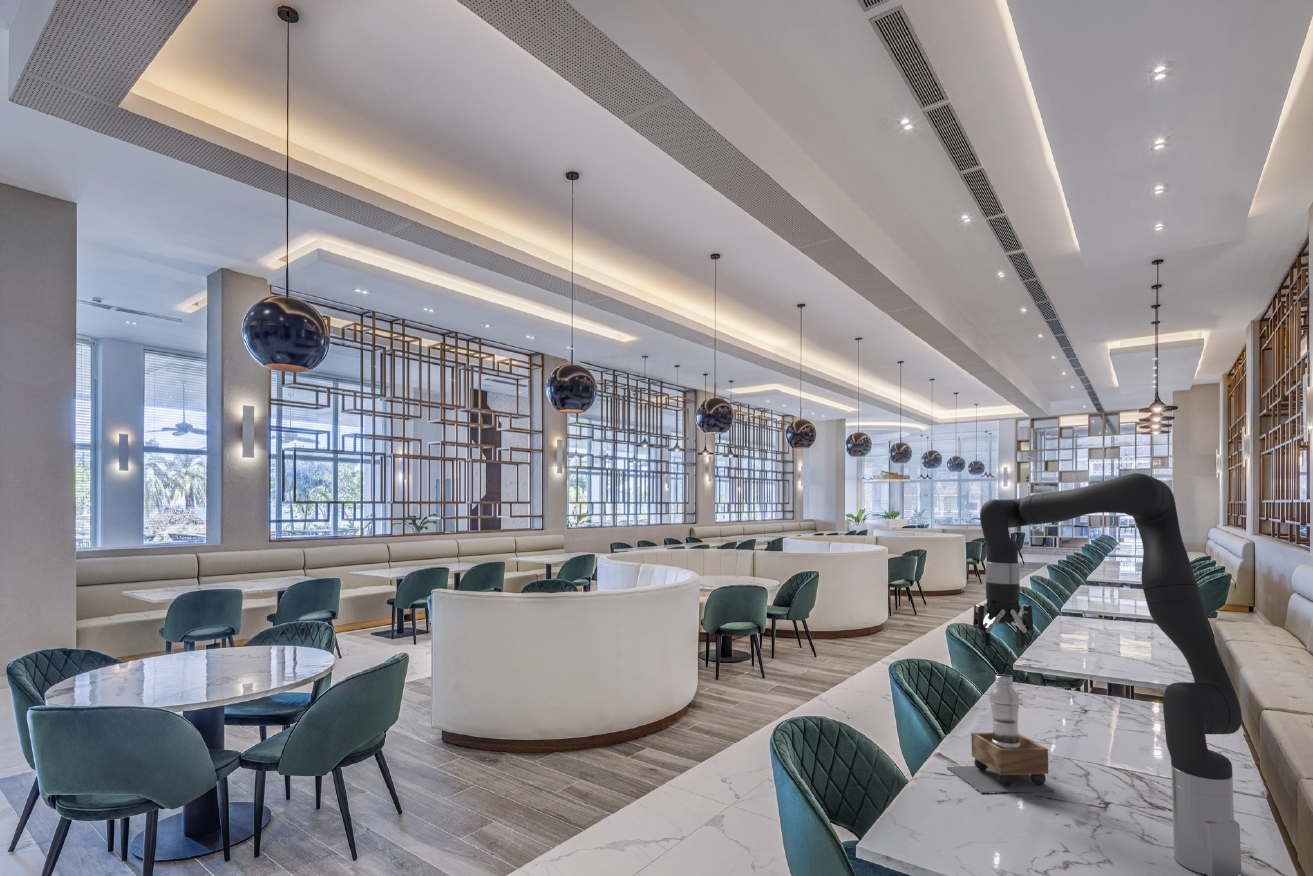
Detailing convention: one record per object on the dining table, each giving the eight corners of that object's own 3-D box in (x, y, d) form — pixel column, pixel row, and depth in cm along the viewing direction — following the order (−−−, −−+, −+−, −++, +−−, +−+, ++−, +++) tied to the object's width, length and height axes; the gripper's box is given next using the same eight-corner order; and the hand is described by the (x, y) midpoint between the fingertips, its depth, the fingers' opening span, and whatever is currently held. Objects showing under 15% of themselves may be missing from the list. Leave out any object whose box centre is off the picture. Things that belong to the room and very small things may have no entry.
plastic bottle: (1025, 766, 169) (1023, 680, 170) (995, 764, 170) (992, 678, 172) (1017, 757, 175) (1015, 673, 177) (988, 754, 176) (985, 671, 178)
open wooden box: (1048, 786, 167) (1047, 749, 168) (1000, 787, 166) (1000, 750, 166) (1016, 766, 179) (1016, 732, 180) (971, 767, 178) (971, 733, 178)
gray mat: (1054, 791, 166) (1053, 789, 166) (981, 794, 163) (981, 792, 163) (1014, 766, 180) (1013, 765, 181) (946, 768, 178) (946, 767, 178)
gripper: (984, 582, 171) (985, 651, 170) (1039, 582, 173) (1040, 651, 172) (966, 578, 179) (967, 644, 177) (1019, 579, 180) (1021, 644, 179)
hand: (1003, 647), depth 175 cm, fingers open, 8 cm apart
